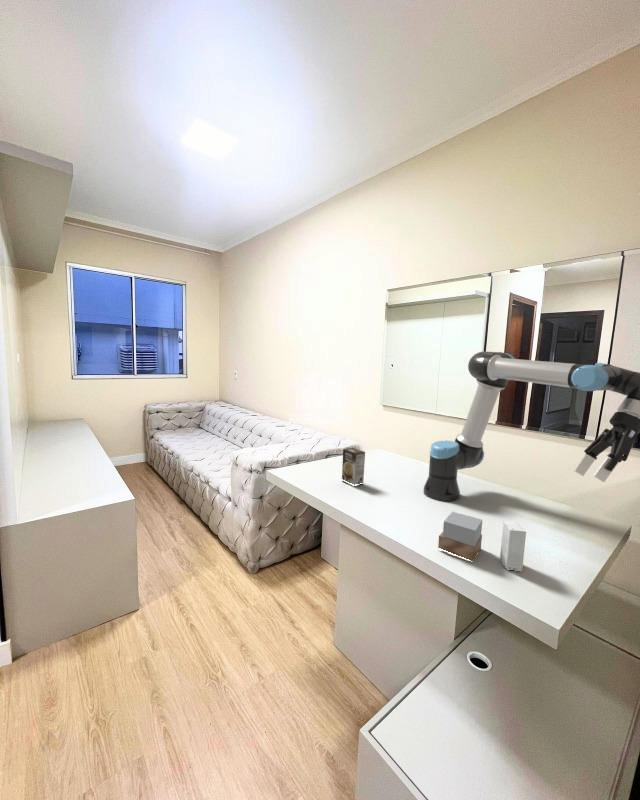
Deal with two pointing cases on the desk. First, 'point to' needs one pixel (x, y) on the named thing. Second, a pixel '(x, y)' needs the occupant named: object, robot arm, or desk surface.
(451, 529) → the tower top block
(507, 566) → the skincare box
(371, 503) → the desk surface
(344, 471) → the coffee box
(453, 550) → the tower base block
